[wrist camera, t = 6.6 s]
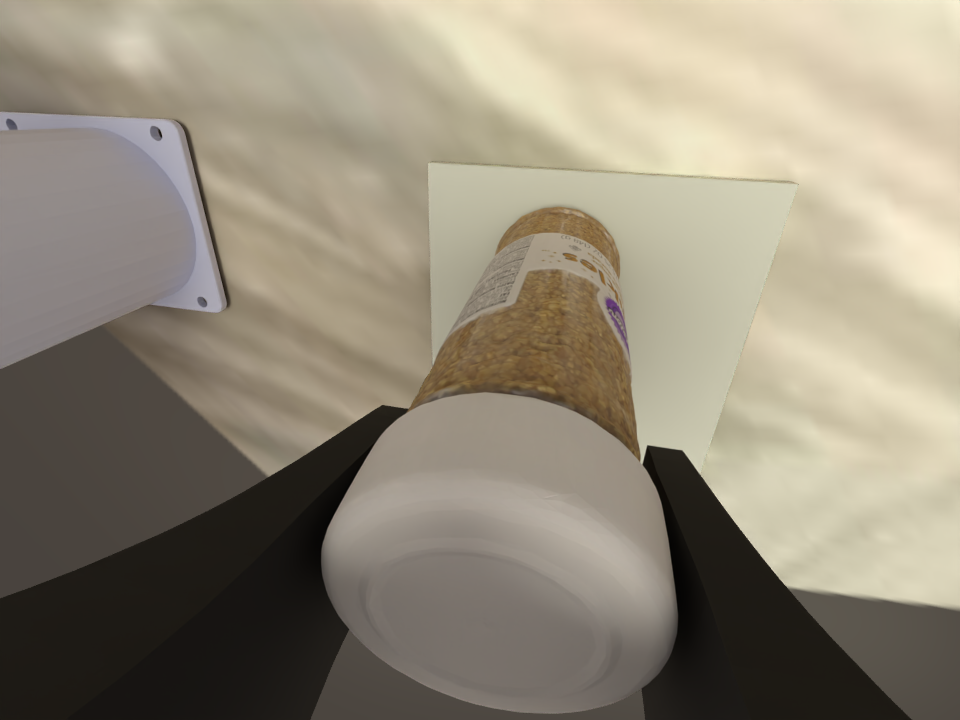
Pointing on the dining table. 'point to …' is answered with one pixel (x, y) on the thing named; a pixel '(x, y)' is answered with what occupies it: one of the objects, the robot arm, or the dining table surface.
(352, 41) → the dining table surface
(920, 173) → the dining table surface
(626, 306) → the sage mat
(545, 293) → the sprinkles bottle
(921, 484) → the dining table surface
